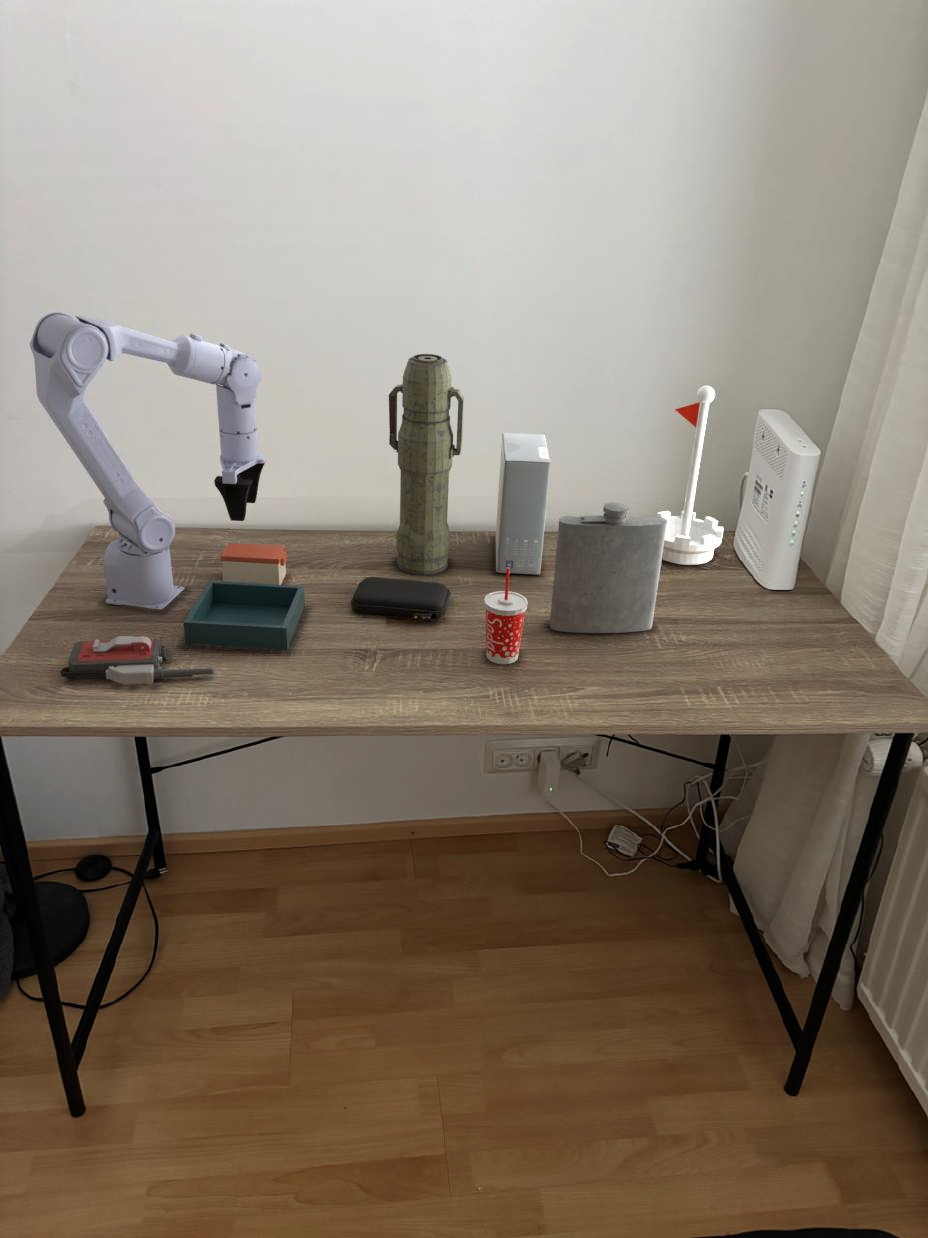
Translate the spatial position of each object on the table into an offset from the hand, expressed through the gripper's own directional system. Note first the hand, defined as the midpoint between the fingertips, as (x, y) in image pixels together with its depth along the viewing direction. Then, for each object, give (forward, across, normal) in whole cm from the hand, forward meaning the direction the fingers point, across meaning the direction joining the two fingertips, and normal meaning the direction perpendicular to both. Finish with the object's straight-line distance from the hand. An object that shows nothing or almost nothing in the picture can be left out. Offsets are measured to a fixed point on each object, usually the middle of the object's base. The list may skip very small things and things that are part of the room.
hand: (243, 510), depth 164 cm
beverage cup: (+11, -24, -42) cm, 50 cm away
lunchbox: (+10, -4, -2) cm, 12 cm away
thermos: (+11, +6, -28) cm, 31 cm away
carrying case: (+11, -11, -26) cm, 31 cm away
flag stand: (+11, +17, -74) cm, 77 cm away
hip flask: (+11, -13, -58) cm, 60 cm away
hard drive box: (+11, +11, -45) cm, 47 cm away
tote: (+10, -20, -5) cm, 23 cm away
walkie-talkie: (+11, -34, +7) cm, 36 cm away
